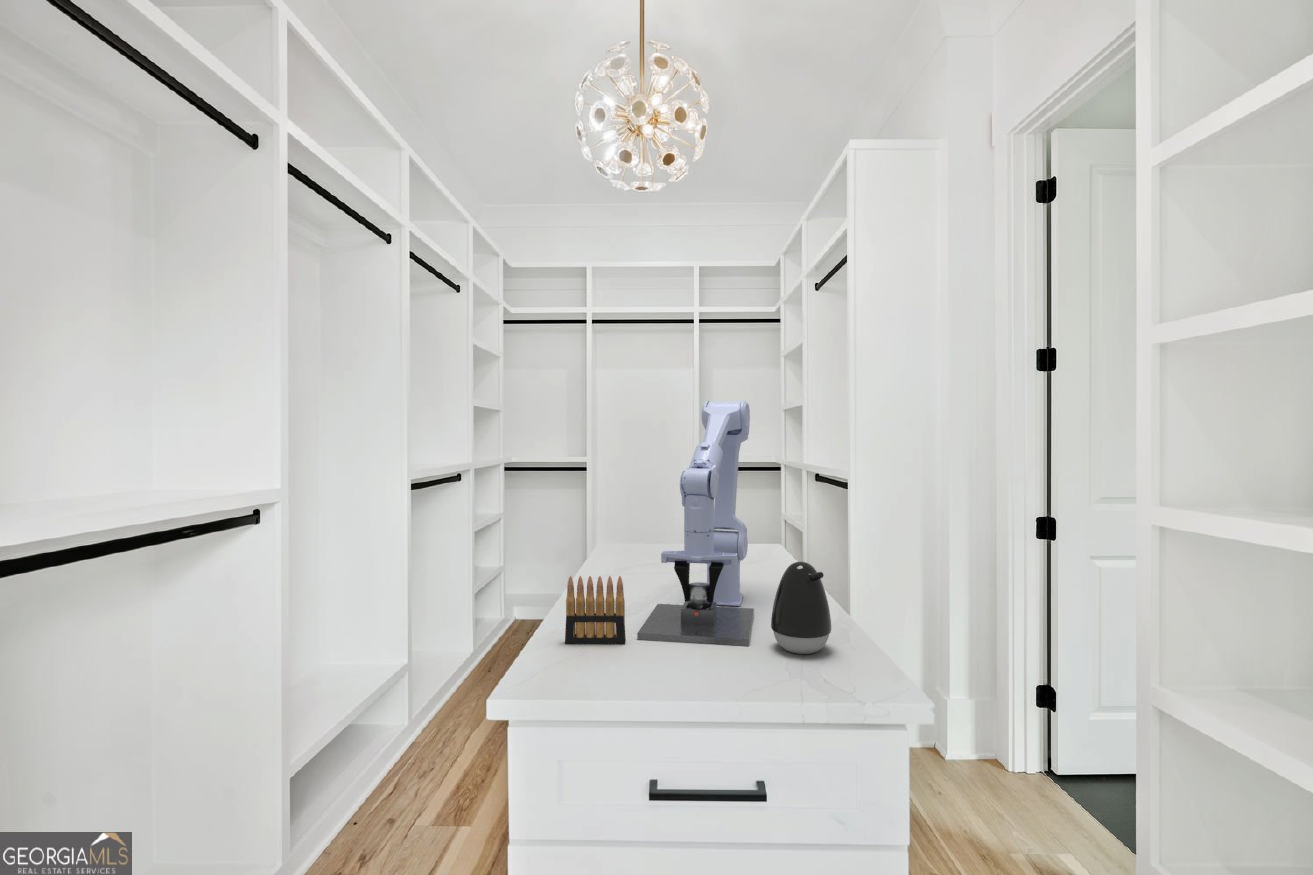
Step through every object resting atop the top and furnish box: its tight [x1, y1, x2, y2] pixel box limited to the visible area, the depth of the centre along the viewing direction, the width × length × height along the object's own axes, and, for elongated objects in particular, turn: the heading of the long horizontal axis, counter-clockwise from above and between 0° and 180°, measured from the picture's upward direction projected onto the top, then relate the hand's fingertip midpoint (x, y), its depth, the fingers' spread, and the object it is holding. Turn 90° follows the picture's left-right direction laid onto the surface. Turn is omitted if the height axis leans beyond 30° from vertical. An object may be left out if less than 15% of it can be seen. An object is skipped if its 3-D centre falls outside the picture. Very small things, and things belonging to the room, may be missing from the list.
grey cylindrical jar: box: [689, 581, 710, 609], centre depth 130 cm, size 4×4×6 cm
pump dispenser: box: [770, 561, 832, 655], centre depth 116 cm, size 10×10×15 cm
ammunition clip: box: [564, 575, 627, 646], centre depth 120 cm, size 11×2×12 cm, turn 90°
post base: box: [636, 600, 755, 647], centre depth 130 cm, size 20×20×4 cm
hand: (699, 600), depth 130 cm, fingers closed on grey cylindrical jar, 4 cm apart
